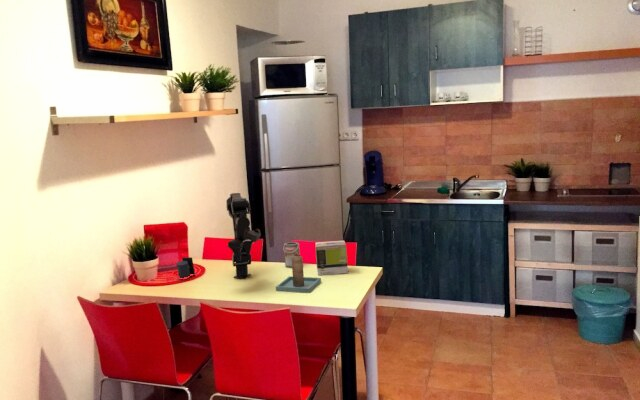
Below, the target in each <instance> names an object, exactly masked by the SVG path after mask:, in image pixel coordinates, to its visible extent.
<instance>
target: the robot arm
mask: <svg viewBox="0 0 640 400" xmlns="http://www.w3.org/2000/svg"><path fill="white" fill-rule="evenodd" d="M225 202H226V211H228V212H227V213H228V216H230V218H231V219H232V228H233V234H234V237H233V238H234V239H231V240H229V241H227V248H229V250H231V251H232V256H231V259H232V260H231V261H232V266H233V268H234V267H235V272H236V273H235V274H236V275H234V276H233V278H234V279H247V278H249V277H250V276H251V275H252V274H251V273H249V270H248V265H251V264H252V255H251V251H252V246H253V244H254V243H256V242H258V241H260V237H261V236H262V233H261V229H259V228H256V229H255V230H251V227H250V225H251V222H250V219H249V218H248V215H249V214H251V210H252V209H251V204H250V202H249V200H247V198H246V197H242V196H241V193H240V192H234V193H233V192H232V193H230V194H229V197H228V198H227V199H226V201H225Z"/></svg>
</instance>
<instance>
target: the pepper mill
mask: <svg viewBox="0 0 640 400" xmlns="http://www.w3.org/2000/svg"><path fill="white" fill-rule="evenodd" d="M291 269H292V271H291V272H292V277H293V286H294V287H302V286H304V277H305V276H304V260H303V256H301V255H300V256H297V257H292V268H291Z"/></svg>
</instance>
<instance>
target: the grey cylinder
mask: <svg viewBox="0 0 640 400" xmlns="http://www.w3.org/2000/svg"><path fill="white" fill-rule="evenodd" d="M300 249H301V248H300V243H299V242H296V241H289V242H285V243H283V248H282V251H283V252H284V253H283V254H284V265H285V267H286V268H291V269H292V257H297V256H300V257H301V251H300Z"/></svg>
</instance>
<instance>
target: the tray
mask: <svg viewBox="0 0 640 400" xmlns="http://www.w3.org/2000/svg"><path fill="white" fill-rule="evenodd" d="M320 282H321V283H322V277H311V276H304V286H302V287H294V286H293V275H291V276H290V275H288V276H287V278H284V280H282V281H281V282H280V283H278V284H277V285H276V286H275V291H276V292H285V293H286V292H287V293H288V292H290V293H301V294H303V293H305V294H310V293H311V292H312V291H313V290H314V289H315V288H316V287H318V285H320Z"/></svg>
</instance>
